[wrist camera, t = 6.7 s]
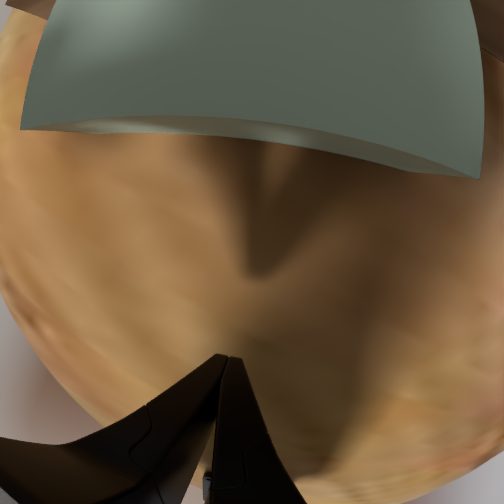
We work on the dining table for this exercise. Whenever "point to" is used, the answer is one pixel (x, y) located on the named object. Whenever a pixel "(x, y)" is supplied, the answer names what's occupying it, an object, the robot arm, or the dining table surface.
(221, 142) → the dining table surface
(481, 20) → the walnut board
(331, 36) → the sage block
